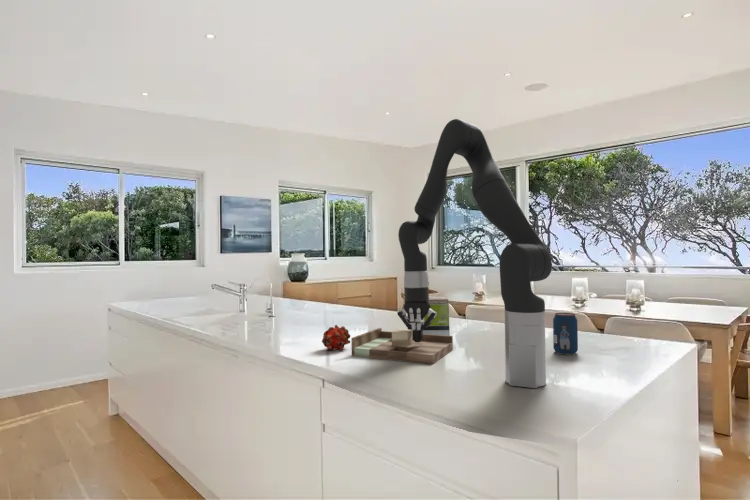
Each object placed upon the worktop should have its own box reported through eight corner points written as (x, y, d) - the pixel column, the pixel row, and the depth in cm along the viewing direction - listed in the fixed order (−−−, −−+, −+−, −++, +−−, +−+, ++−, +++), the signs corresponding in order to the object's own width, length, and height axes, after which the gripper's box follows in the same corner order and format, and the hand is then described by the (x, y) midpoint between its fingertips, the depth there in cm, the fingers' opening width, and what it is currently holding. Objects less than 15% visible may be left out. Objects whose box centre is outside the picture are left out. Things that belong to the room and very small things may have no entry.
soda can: (570, 350, 146) (569, 312, 146) (582, 354, 139) (582, 315, 139) (549, 350, 145) (548, 312, 145) (560, 355, 138) (560, 315, 138)
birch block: (407, 347, 141) (407, 332, 141) (391, 345, 143) (391, 331, 143) (412, 344, 146) (412, 329, 146) (397, 342, 148) (397, 328, 148)
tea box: (448, 335, 174) (447, 296, 174) (449, 340, 164) (449, 299, 164) (408, 335, 175) (407, 296, 175) (407, 340, 165) (406, 299, 165)
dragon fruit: (349, 351, 156) (328, 363, 146) (331, 334, 159) (309, 346, 149) (360, 332, 152) (339, 344, 142) (341, 316, 155) (319, 326, 145)
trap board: (433, 363, 130) (433, 344, 130) (351, 356, 141) (351, 338, 141) (452, 349, 148) (452, 332, 148) (379, 343, 159) (378, 327, 159)
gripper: (391, 286, 143) (393, 343, 142) (432, 286, 137) (434, 345, 137) (401, 284, 149) (402, 338, 149) (440, 284, 144) (442, 340, 143)
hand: (418, 341), depth 143 cm, fingers closed
